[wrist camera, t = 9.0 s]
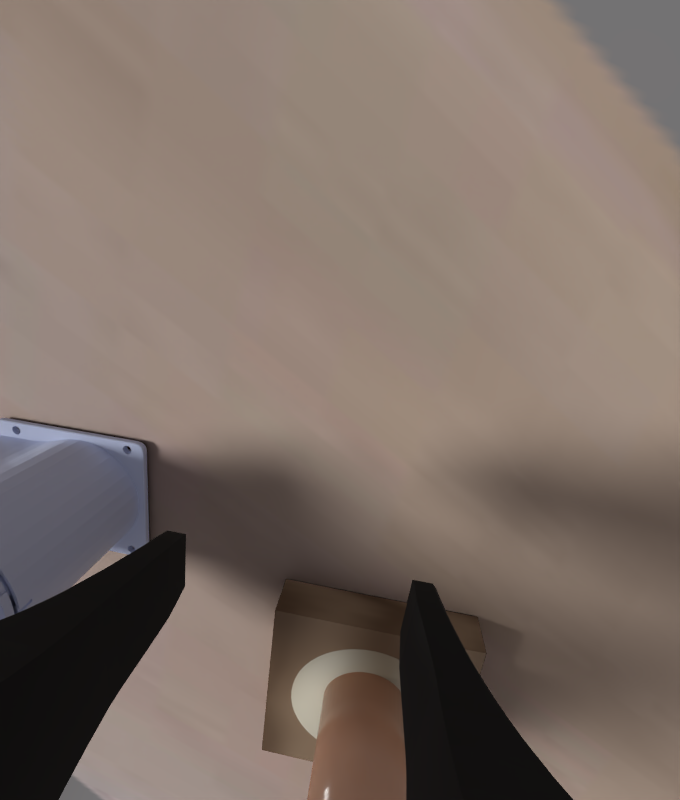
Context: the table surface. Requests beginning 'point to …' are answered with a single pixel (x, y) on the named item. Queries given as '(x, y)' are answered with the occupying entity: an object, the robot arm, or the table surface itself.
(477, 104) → the table surface
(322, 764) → the terracotta cylinder
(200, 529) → the table surface
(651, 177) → the table surface
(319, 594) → the plinth
